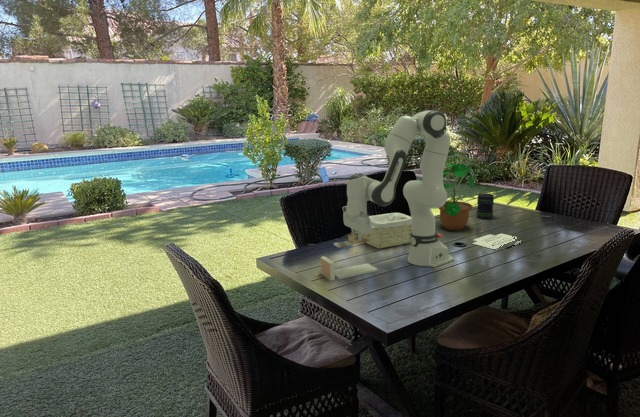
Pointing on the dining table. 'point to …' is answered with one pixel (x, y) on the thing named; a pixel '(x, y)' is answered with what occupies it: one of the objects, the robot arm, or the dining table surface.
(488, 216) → the storage jar
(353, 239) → the wooden handled scraper
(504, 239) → the paper stack
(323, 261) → the tile
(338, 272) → the tool rest
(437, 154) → the robot arm
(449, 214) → the potted plant
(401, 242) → the storage basket
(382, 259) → the dining table surface
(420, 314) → the dining table surface
